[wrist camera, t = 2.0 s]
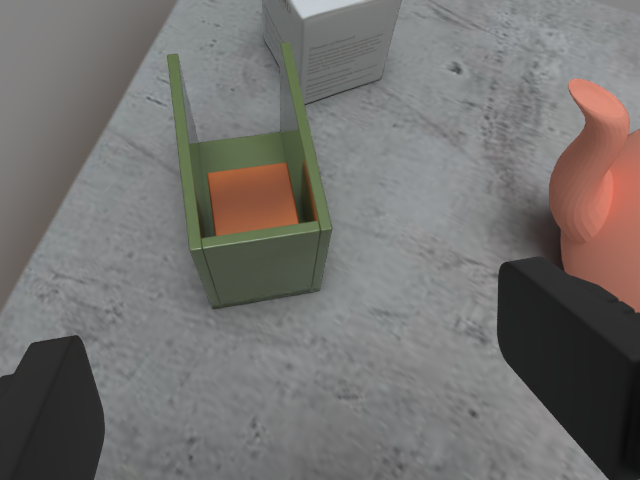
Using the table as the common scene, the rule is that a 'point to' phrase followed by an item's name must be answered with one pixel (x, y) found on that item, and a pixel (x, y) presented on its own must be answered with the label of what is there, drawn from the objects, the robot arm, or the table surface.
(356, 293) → the table surface
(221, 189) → the block
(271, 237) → the green storage bin
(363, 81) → the product box
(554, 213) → the teapot
